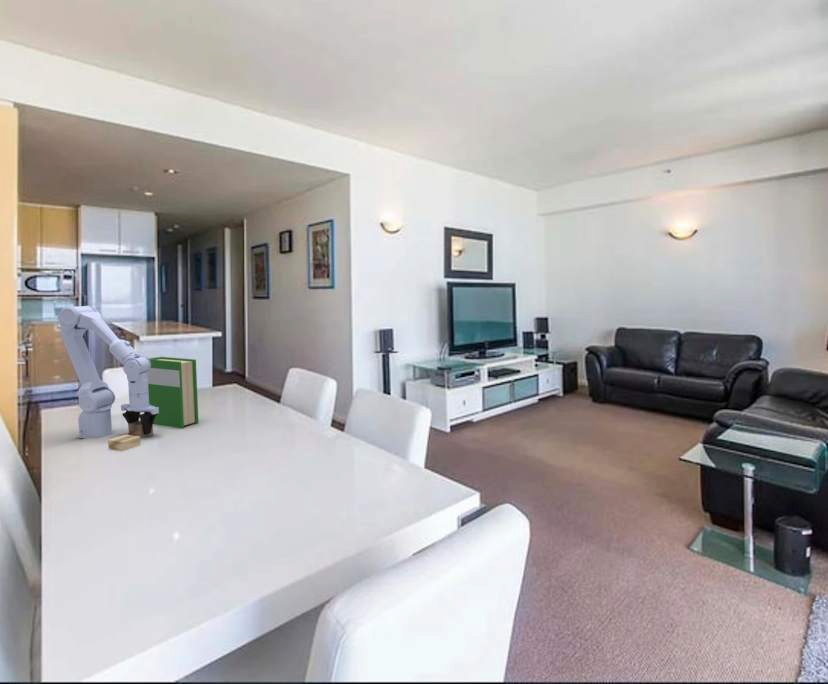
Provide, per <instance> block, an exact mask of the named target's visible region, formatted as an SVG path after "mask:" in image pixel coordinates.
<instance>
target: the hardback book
mask: <svg viewBox="0 0 828 684" xmlns="http://www.w3.org/2000/svg"><path fill="white" fill-rule="evenodd" d="M148 359H149V360H150V362H151V368H150V370H149V371H148V390H149V405H152V406H154V407H159V413H157V416H156V418H155V420H154V422H153V425H155V426H156V425H157V426H163V427H169V428H175V429H184V428H185V426H187V425H191V424H192V425H199V403H198V382H197V381H198V379H197V377H198V376H197V360H196V359H194V358H182V357H181V358H179V357H167V356H158V357H151V358H148Z"/></svg>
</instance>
